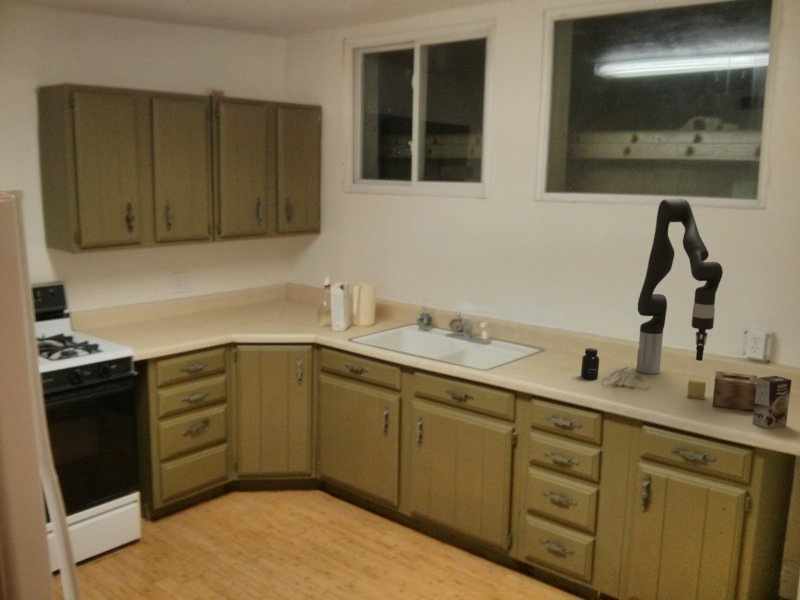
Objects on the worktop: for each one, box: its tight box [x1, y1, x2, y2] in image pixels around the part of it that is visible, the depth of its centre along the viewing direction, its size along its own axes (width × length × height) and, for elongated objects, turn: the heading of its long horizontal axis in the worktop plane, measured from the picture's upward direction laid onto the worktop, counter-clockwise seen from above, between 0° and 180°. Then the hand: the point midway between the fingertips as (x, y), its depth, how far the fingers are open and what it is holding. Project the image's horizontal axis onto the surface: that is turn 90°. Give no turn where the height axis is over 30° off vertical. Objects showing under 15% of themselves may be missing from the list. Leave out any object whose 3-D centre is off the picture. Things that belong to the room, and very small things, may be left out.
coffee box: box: [752, 375, 792, 429], centre depth 246 cm, size 9×6×16 cm
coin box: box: [712, 370, 758, 413], centre depth 267 cm, size 14×12×10 cm
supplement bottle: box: [580, 347, 600, 381], centre depth 299 cm, size 7×7×12 cm
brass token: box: [686, 379, 707, 400], centre depth 276 cm, size 6×2×6 cm, turn 66°
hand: (699, 357), depth 274 cm, fingers open, 8 cm apart
